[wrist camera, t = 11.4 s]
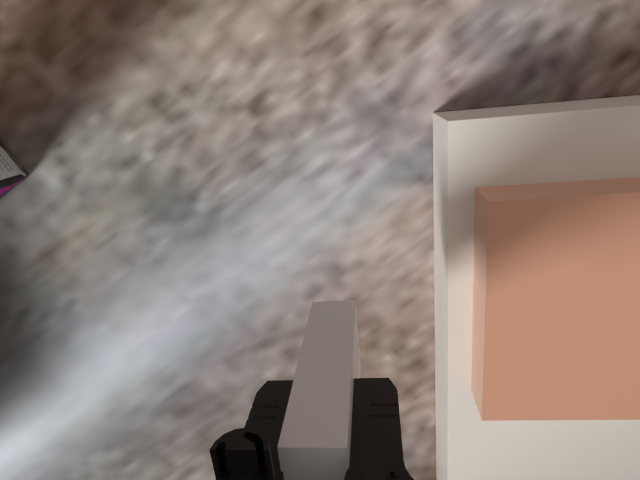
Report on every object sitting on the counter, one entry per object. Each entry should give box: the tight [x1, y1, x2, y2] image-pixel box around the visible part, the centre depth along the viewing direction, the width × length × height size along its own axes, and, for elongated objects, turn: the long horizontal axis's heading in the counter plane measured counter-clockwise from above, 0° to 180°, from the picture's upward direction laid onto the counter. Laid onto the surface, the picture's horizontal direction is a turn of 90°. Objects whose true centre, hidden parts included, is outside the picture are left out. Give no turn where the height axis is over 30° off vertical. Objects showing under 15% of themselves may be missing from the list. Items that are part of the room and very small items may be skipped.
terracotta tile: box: [471, 177, 640, 421], centre depth 17 cm, size 9×7×2 cm
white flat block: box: [433, 95, 640, 480], centre depth 22 cm, size 28×15×4 cm, turn 5°
